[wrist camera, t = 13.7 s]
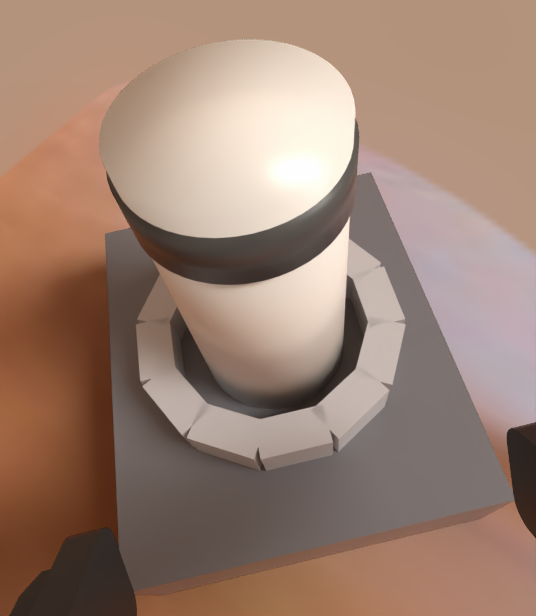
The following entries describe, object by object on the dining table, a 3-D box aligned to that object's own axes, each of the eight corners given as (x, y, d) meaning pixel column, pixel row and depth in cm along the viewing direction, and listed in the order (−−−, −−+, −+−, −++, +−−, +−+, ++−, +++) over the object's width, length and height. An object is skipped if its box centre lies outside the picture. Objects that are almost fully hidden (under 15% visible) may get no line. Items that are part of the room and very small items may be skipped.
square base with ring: (160, 595, 18) (100, 593, 13) (135, 283, 25) (91, 211, 21) (480, 518, 18) (533, 490, 14) (365, 229, 25) (373, 145, 21)
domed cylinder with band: (214, 427, 17) (96, 250, 8) (196, 300, 20) (92, 67, 11) (364, 392, 17) (399, 181, 8) (325, 271, 20) (321, 15, 11)
